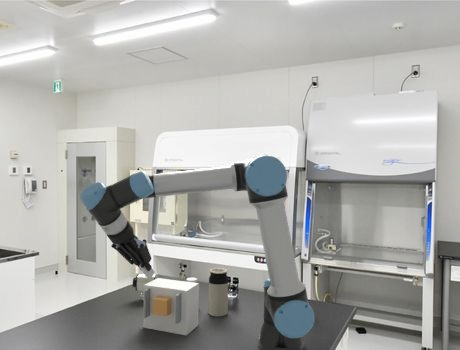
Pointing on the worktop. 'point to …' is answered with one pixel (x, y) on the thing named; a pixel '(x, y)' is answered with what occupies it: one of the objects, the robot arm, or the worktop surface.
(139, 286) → the pneumatic valve
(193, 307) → the box
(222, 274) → the travel mug
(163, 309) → the button
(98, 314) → the worktop surface
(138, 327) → the worktop surface
